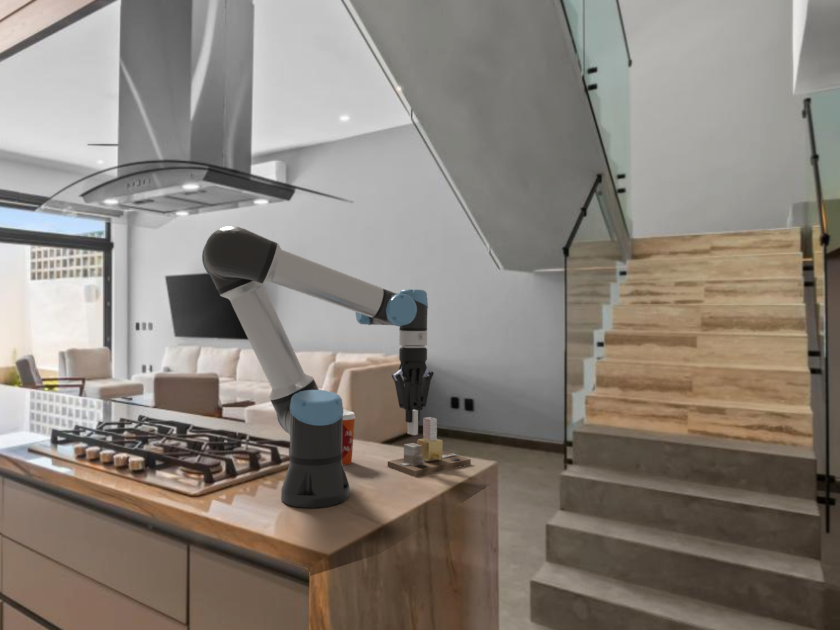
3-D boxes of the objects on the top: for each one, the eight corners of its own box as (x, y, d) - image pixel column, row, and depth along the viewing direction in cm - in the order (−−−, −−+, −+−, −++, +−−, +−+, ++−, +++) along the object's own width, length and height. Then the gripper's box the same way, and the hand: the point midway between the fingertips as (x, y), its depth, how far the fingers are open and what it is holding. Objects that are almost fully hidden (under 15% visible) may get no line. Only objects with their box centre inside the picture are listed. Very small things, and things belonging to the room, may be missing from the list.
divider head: (433, 463, 147) (433, 421, 147) (417, 457, 153) (417, 417, 153) (447, 460, 150) (447, 419, 150) (430, 455, 156) (431, 416, 156)
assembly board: (414, 476, 141) (415, 451, 141) (387, 466, 151) (387, 442, 151) (470, 464, 154) (470, 441, 154) (442, 455, 163) (442, 433, 163)
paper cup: (353, 466, 150) (353, 415, 150) (325, 466, 150) (325, 415, 150) (357, 459, 158) (357, 410, 158) (330, 459, 158) (331, 410, 158)
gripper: (402, 348, 141) (401, 439, 141) (440, 346, 150) (439, 433, 150) (385, 346, 147) (384, 434, 147) (423, 345, 155) (422, 428, 155)
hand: (412, 434), depth 148 cm, fingers closed
